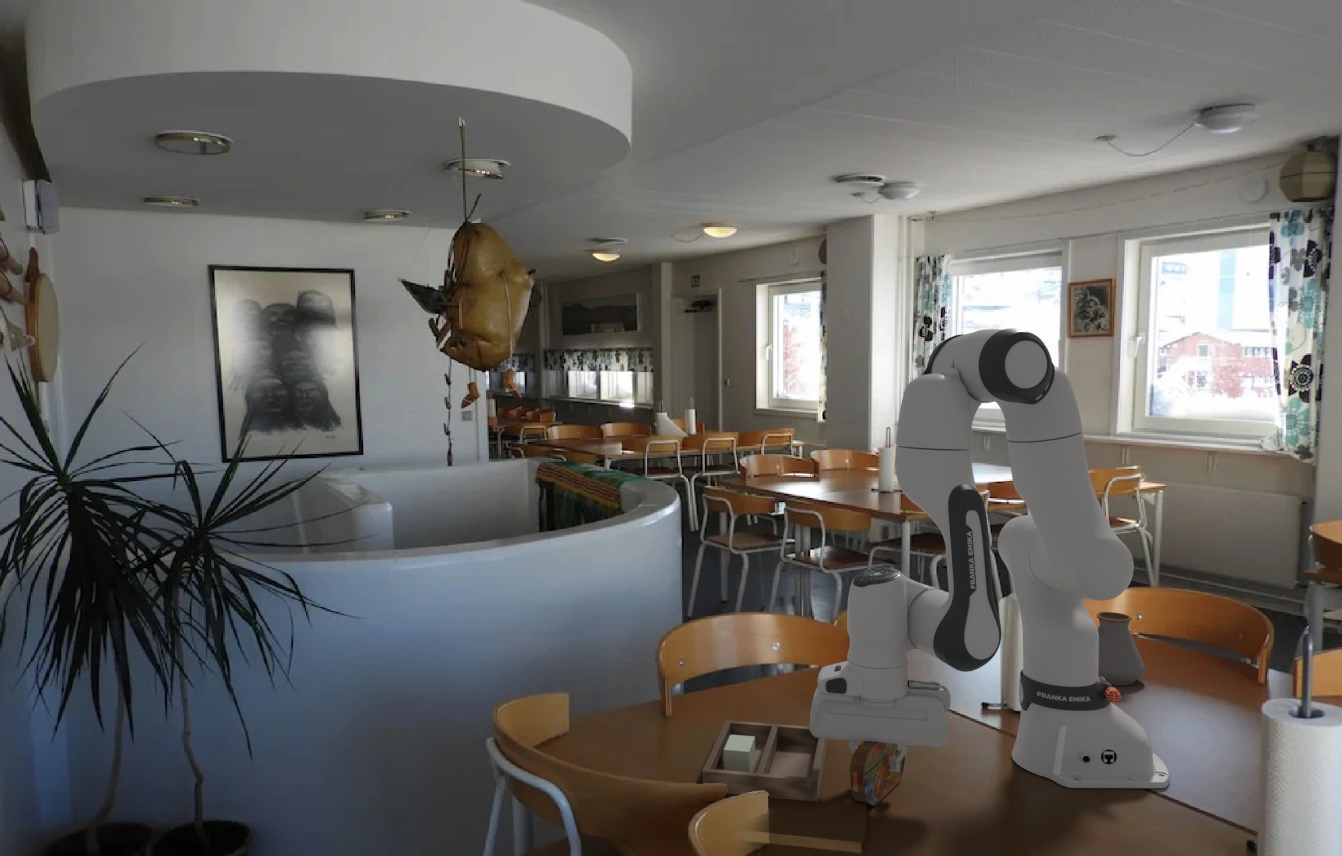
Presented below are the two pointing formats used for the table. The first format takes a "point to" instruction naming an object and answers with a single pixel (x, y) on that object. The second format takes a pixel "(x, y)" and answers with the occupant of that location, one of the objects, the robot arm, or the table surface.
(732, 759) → the sage block
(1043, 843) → the table surface
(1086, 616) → the robot arm
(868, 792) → the tin
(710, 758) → the caddy
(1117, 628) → the coffee pot
